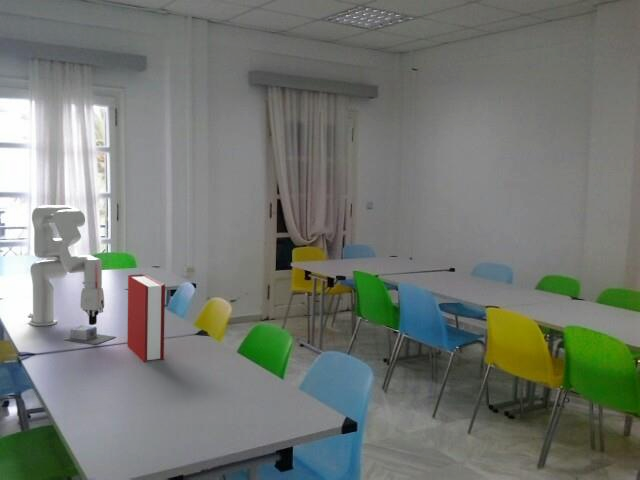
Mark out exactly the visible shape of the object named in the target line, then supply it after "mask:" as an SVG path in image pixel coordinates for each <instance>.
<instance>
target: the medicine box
mask: <svg viewBox="0 0 640 480" xmlns="http://www.w3.org/2000/svg"><path fill="white" fill-rule="evenodd" d="M97 328H98V327H96V326H89V325H78V326H76V327H73V328H70V329H69V330H70V331H69V332H70V333H69V335H70V336H69V338H72V339H80V340H88V339H90V338H93V337H95V336H97V334H98V332H97V331H98V330H97Z"/></svg>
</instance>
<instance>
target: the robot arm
mask: <svg viewBox="0 0 640 480" xmlns="http://www.w3.org/2000/svg"><path fill="white" fill-rule="evenodd" d="M31 221H32V224H33V225H32V226H33V230H34V232H33V233H34V235H33V237H34V239H33V241H34V243H33V244H34V245H33V247H34V248H33V251H34V255H35V257H36V258H39V259H46V260H39V261H35V262H34V263H32V264H31V265H30V268H29V269H30V276H31V283H32V312H31V313H29V314H28V315H27V318H28V319H31V320H30V321H29V325H30V326H35V327H45V326H52V325H56V324H57V323H58V319H56V318H55V315H54V314H55V307H54V306H55V305H54V304H55V291H54V286H53V284H52V283H51V282H50V280H54V279H61V278H65V277H66V276H67V274H68V273H69V274H78V273H83V281H82V285H83V287H82V289H81V291H80V292H81V293H80V304H79V306H80V309H82V311H83V312H85V313H86V314H87V316H88V326H89V325H91V326H94V325H97V321H98V320H97V319H98V318H97V316H98V315H99V314H101V313H104V307H105V294H104V289H103V287H102V282H103V281H102V279H103V278H102V274H103V272H102V271H103V268H102V267H103V266H102V265H103V261H102V259H101V258H100V257H94V256H93V255H77V256H76V255H74V256H72V255H71V253H70V250H69V248H70V247H71V246H73V245H75V244H77V243H78V242H79V241H80V240H81V239H82V235H81V232H80V230H79V228H81V227H83V226H84V225H85V223H86V216H85V214H84V213H83V212H82V210H80V209H78V208H75V207H72V206H70V205H41V206H37V207H35V208H34V209H33V211H32V213H31ZM51 224H54V226H55V227H56V230H57V232H58V234H59V238H57V237H55V238H54V229H53V227H52V225H51ZM49 258H50V259H49ZM51 258H54V259H51Z"/></svg>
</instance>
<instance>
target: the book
mask: <svg viewBox="0 0 640 480" xmlns="http://www.w3.org/2000/svg"><path fill="white" fill-rule="evenodd" d="M165 294H166V284H165V283H163V282H161V281H160V280H158V279H155V278H154V277H152V276H149V275H148V274H143V273H141V274H130V275H127V341H126V342H127V347H128V348H129V350H131V351H132V352H133V353H134V354H135V355H136V356H137V357H138V358H139V359H140V360H142V362H144V363H146V362H147V361H150V360H158V359H159V360H163V361H164V360H165V359H164V357H165V311H166V310H165V308H166V307H165V305H166V304H165V299H166V295H165Z"/></svg>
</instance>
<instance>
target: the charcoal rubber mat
mask: <svg viewBox="0 0 640 480" xmlns="http://www.w3.org/2000/svg"><path fill="white" fill-rule="evenodd" d="M116 338H117V336H113V335H107V334H106V335H105V334H99V333H97V336H95V337H93V338H90V339H88V340H80V339H72V338H70V337H68V338H65V339H64V341H66V342H73V341H74V342H75V343H79V342H81V343H80V344H86V343H87V345H94V346H97V345H100V344H102V343H105V342H108V341H110V340H114V339H116Z"/></svg>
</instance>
